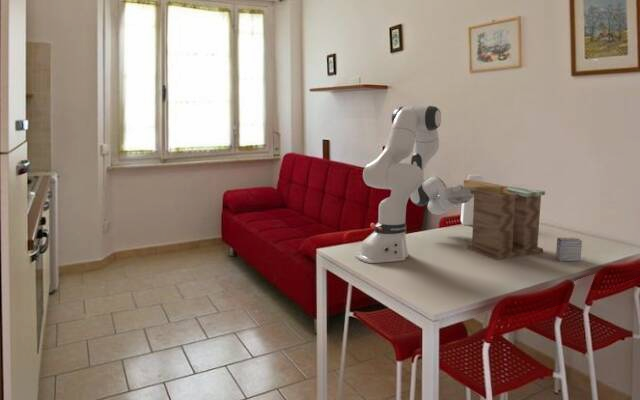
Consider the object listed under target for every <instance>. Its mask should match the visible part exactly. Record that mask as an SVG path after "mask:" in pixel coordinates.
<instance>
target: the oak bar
mask: <svg viewBox="0 0 640 400" xmlns="http://www.w3.org/2000/svg"><path fill="white" fill-rule="evenodd" d="M462 186H463V187H466V188H471V189H476V190H481V191H486V192H491V193H496V194H506V193H507V187H508V185H503V184H498V183H491V182H485V181H484V182H481V181H476V180H467V179H464V180H463V185H462Z"/></svg>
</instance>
